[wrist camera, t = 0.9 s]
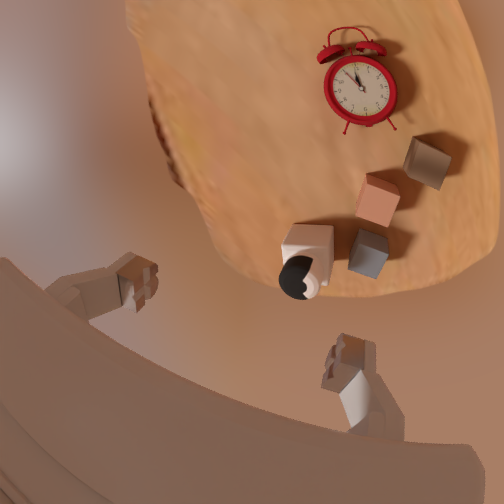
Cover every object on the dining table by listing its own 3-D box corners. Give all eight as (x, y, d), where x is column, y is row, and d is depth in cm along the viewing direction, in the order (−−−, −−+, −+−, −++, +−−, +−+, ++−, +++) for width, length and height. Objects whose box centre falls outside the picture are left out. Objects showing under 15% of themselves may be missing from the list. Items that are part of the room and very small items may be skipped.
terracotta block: (366, 173, 37) (366, 183, 33) (396, 184, 36) (400, 196, 32) (356, 202, 40) (355, 215, 36) (385, 213, 39) (387, 227, 35)
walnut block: (412, 136, 31) (419, 142, 27) (441, 149, 30) (451, 157, 26) (402, 167, 34) (407, 176, 30) (431, 179, 33) (439, 190, 29)
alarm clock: (333, 139, 33) (300, 33, 23) (334, 125, 37) (306, 33, 28) (408, 133, 28) (385, 21, 19) (400, 118, 32) (378, 23, 23)
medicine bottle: (295, 258, 49) (276, 302, 40) (291, 223, 46) (270, 263, 37) (334, 261, 47) (323, 308, 37) (333, 224, 43) (323, 267, 34)
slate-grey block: (359, 227, 42) (359, 243, 38) (387, 238, 41) (389, 254, 37) (349, 252, 45) (347, 269, 41) (375, 261, 44) (376, 279, 40)
